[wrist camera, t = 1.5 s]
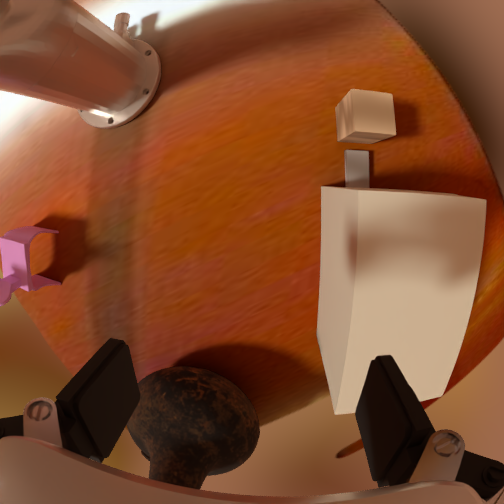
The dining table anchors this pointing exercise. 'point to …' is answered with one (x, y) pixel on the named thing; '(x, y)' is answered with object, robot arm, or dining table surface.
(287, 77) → the dining table surface
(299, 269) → the dining table surface
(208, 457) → the glass bottle
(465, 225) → the white box on stand
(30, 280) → the toy chair
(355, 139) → the tool
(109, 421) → the robot arm
